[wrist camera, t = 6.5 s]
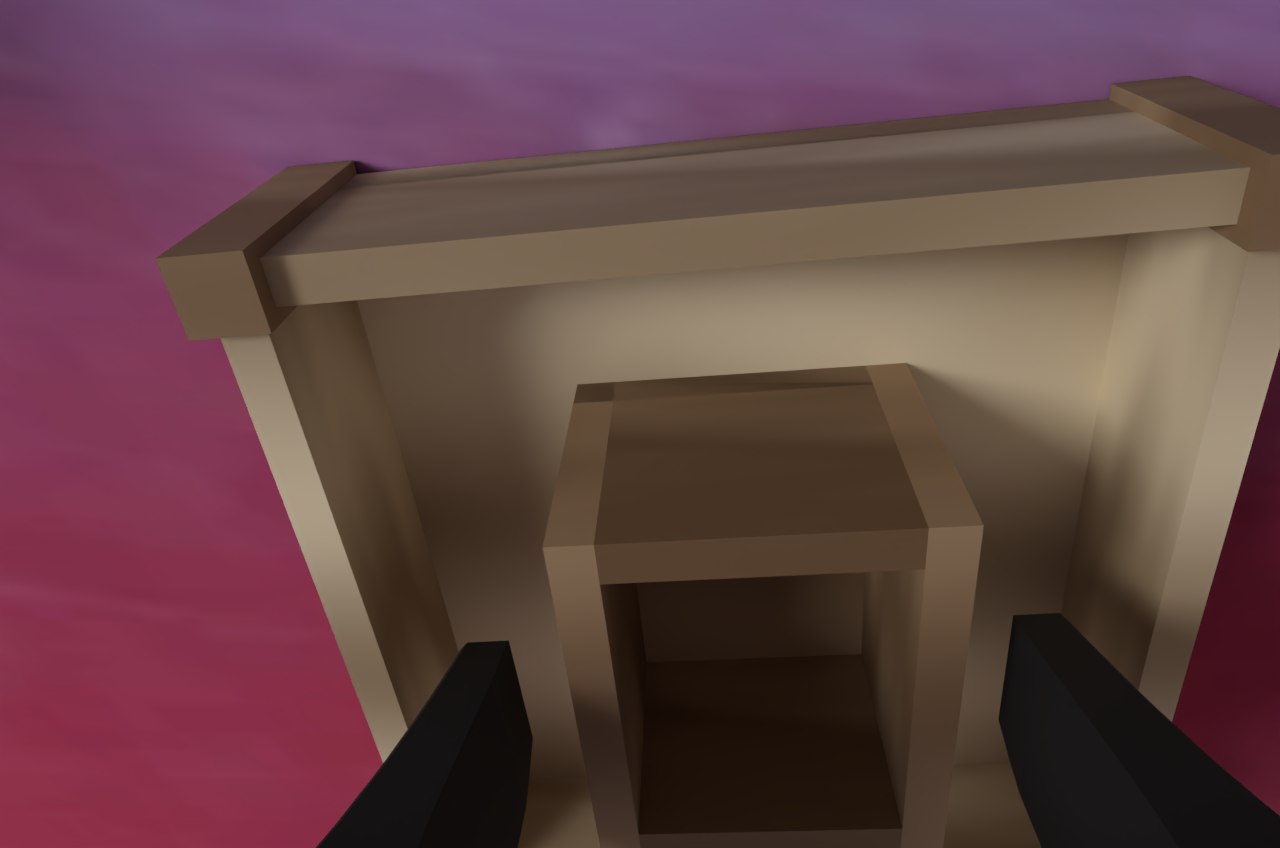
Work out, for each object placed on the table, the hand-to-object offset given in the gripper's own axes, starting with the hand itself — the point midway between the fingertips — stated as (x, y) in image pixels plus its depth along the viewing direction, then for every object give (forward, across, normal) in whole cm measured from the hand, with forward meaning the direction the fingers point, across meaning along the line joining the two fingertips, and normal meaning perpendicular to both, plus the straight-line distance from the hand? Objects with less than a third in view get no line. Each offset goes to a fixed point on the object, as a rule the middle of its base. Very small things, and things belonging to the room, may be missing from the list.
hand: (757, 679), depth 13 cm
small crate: (+3, 0, 0) cm, 3 cm away
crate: (+4, 0, 0) cm, 4 cm away
